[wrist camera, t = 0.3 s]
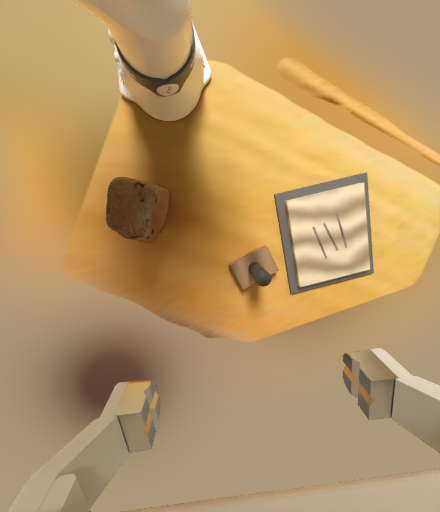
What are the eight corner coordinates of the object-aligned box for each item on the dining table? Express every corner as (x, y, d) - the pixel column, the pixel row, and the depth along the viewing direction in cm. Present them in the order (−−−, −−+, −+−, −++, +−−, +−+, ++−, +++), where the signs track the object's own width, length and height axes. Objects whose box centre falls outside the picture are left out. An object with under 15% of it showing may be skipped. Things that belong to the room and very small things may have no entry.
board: (284, 201, 55) (287, 201, 54) (359, 182, 56) (364, 182, 54) (297, 285, 60) (300, 287, 59) (366, 267, 61) (370, 269, 60)
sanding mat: (274, 194, 55) (275, 194, 54) (365, 172, 56) (367, 172, 55) (290, 293, 61) (291, 294, 61) (371, 272, 62) (373, 272, 62)
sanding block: (241, 286, 60) (250, 303, 50) (228, 263, 58) (235, 276, 48) (275, 267, 60) (291, 281, 49) (263, 244, 58) (278, 253, 48)
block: (139, 182, 51) (105, 170, 32) (173, 189, 53) (159, 182, 33) (133, 229, 54) (97, 245, 34) (165, 236, 55) (149, 254, 35)
